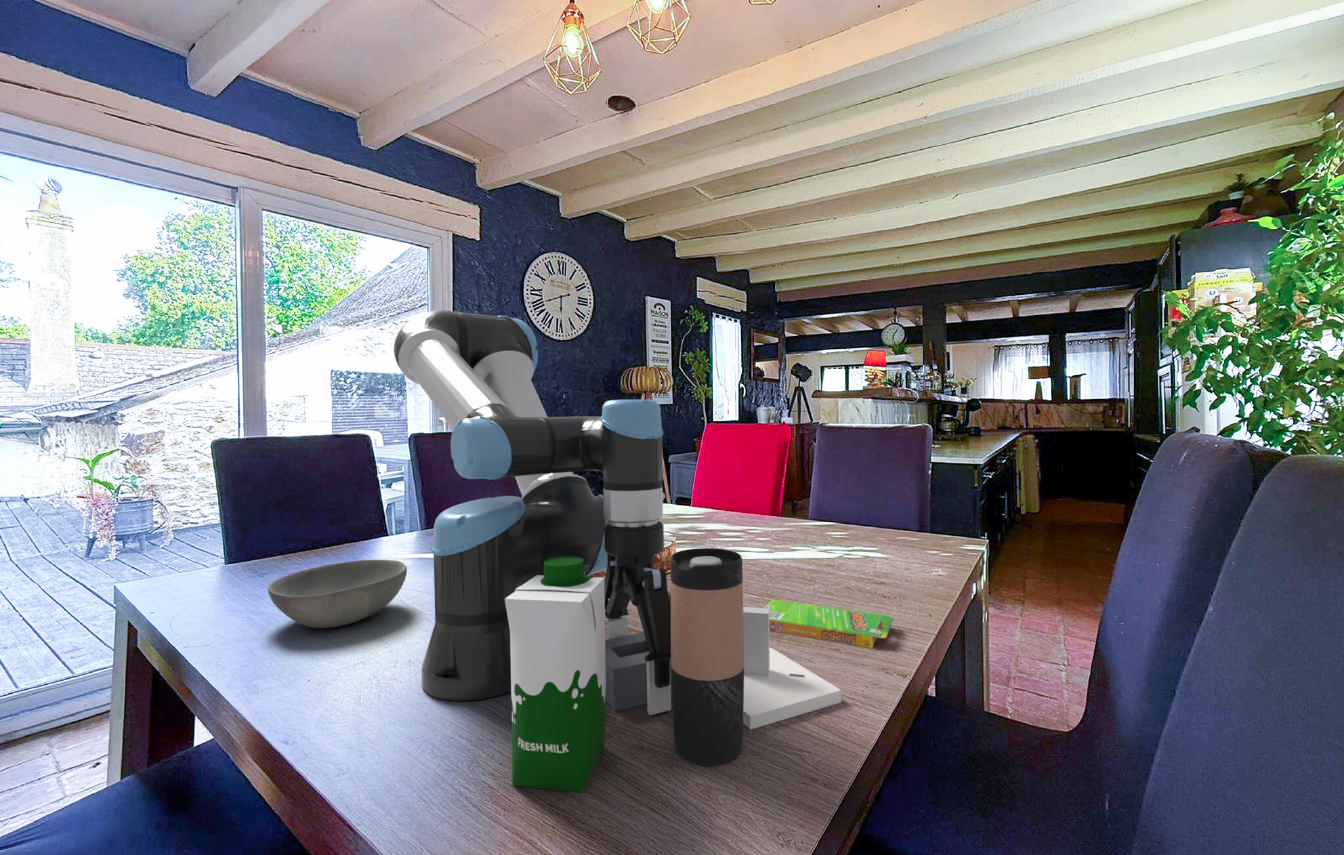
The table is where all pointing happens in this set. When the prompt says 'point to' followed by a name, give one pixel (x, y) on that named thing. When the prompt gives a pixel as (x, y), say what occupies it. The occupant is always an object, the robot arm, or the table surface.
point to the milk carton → (557, 676)
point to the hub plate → (777, 678)
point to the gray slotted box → (627, 671)
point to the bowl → (338, 591)
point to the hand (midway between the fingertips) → (636, 687)
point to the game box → (827, 623)
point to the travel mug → (707, 654)
